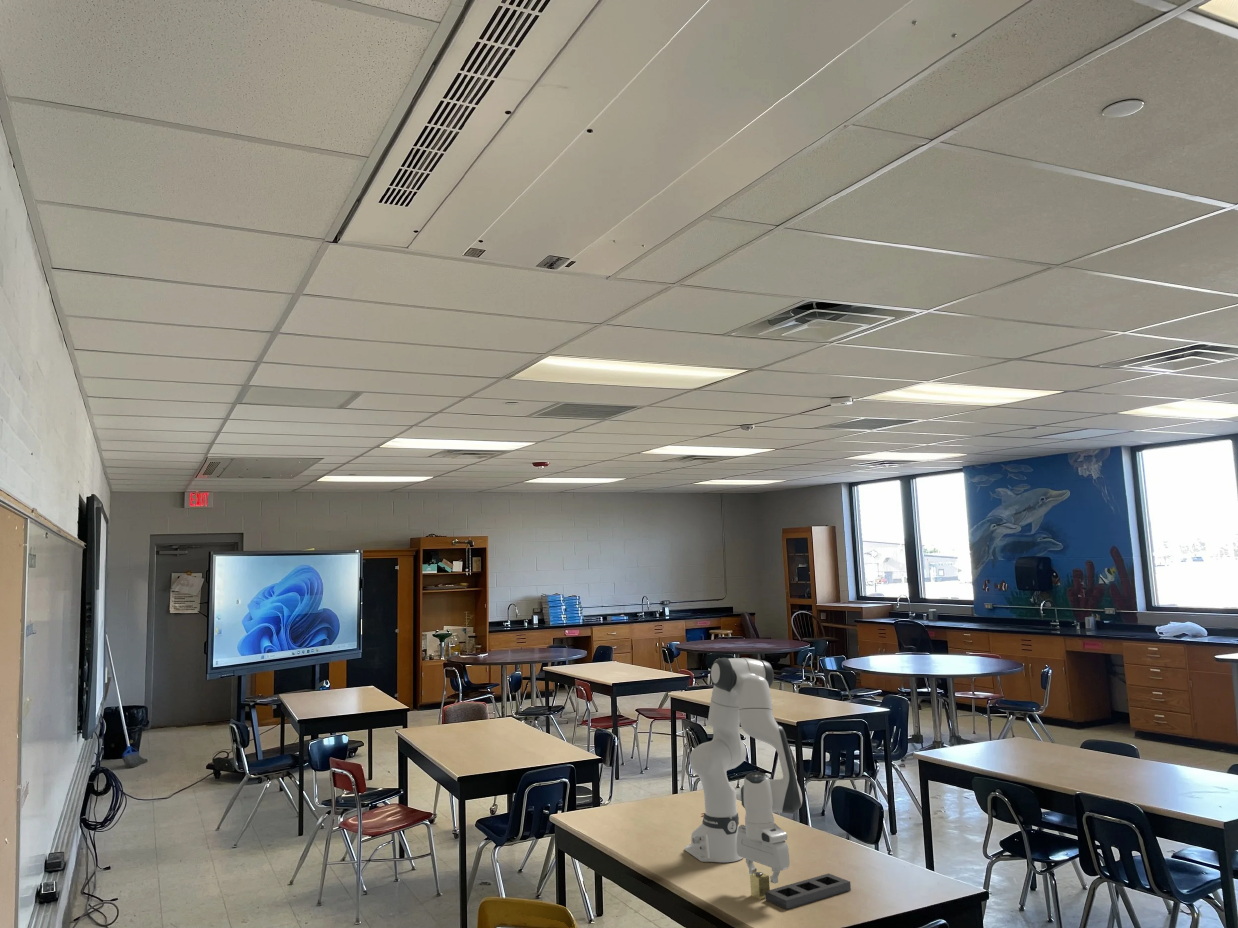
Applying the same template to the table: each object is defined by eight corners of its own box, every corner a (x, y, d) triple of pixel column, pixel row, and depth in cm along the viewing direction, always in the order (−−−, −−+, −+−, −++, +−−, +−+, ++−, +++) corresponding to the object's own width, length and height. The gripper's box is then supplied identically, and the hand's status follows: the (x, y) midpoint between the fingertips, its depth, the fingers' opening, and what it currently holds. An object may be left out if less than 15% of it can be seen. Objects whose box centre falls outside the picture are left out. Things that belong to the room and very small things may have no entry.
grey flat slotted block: (765, 899, 245) (765, 891, 245) (829, 881, 258) (828, 873, 258) (786, 909, 237) (786, 900, 237) (850, 890, 250) (850, 881, 251)
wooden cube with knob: (751, 895, 249) (749, 872, 250) (761, 892, 251) (760, 869, 252) (759, 899, 245) (758, 876, 246) (770, 896, 247) (768, 873, 248)
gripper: (730, 824, 258) (733, 872, 255) (775, 838, 241) (779, 889, 238) (745, 821, 261) (748, 867, 259) (791, 834, 244) (795, 884, 242)
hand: (763, 878), depth 248 cm, fingers open, 8 cm apart
